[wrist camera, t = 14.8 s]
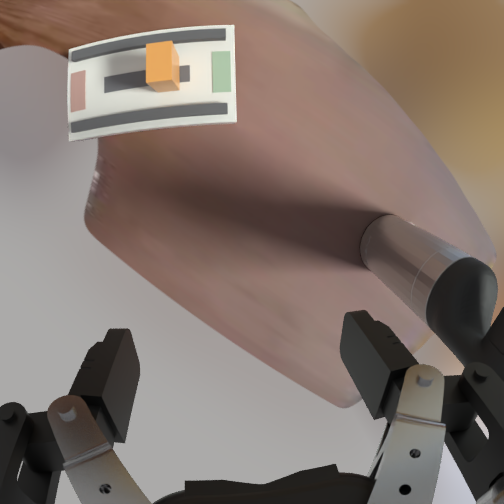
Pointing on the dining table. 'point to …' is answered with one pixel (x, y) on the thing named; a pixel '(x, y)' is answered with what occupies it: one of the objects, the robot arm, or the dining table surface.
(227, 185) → the dining table surface
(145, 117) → the pair of grey rails
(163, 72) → the block
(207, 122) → the breaker panel
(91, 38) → the dining table surface
